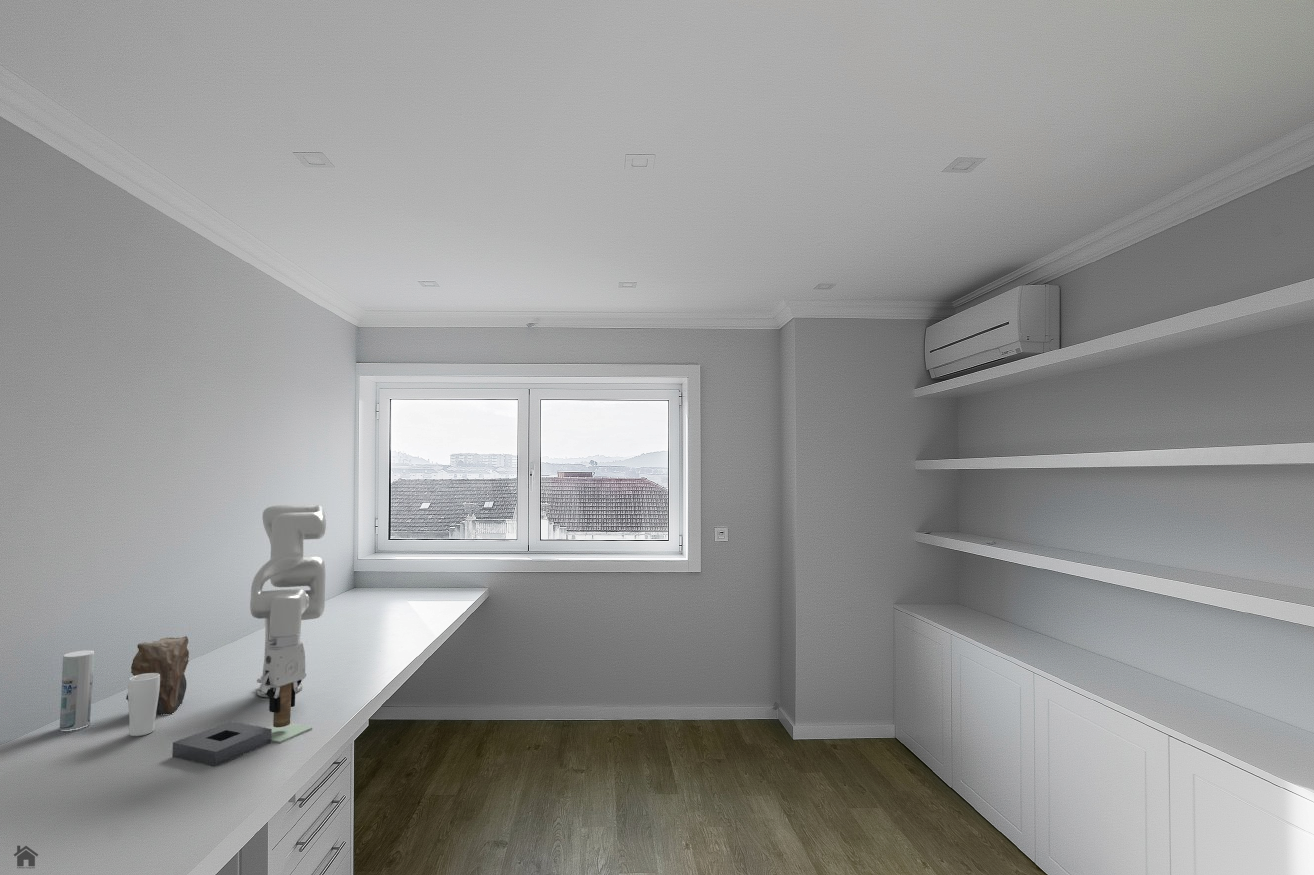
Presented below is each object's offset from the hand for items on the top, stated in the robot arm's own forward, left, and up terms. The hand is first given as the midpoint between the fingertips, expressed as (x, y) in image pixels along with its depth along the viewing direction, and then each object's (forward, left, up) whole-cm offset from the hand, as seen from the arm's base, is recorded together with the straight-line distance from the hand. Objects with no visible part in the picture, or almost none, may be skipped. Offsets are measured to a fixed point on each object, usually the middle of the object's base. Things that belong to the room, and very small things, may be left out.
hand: (282, 708), depth 177 cm
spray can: (-56, -17, -7) cm, 59 cm away
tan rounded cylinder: (0, 0, -4) cm, 4 cm away
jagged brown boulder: (-48, 0, -7) cm, 48 cm away
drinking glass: (-35, -13, -7) cm, 38 cm away
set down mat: (0, 0, -7) cm, 7 cm away
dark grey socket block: (-5, -13, -7) cm, 15 cm away
